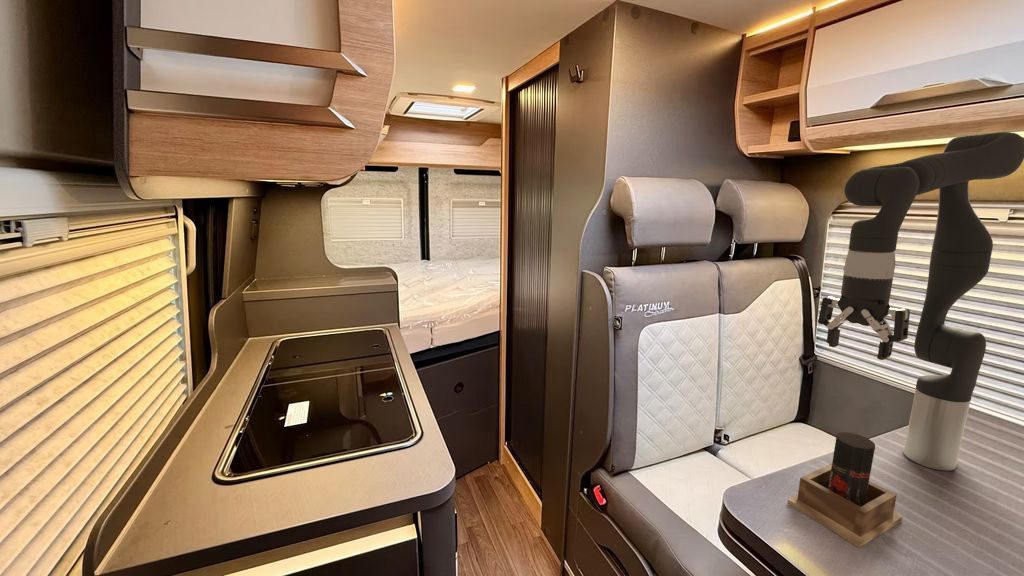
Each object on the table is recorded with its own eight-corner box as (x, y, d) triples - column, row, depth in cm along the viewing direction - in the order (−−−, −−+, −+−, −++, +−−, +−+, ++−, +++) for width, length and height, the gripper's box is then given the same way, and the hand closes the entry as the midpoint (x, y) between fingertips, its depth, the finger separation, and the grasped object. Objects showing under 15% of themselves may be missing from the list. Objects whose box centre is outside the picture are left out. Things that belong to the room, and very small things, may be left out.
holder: (829, 483, 96) (833, 458, 94) (901, 521, 84) (906, 494, 83) (787, 503, 89) (790, 477, 88) (859, 547, 78) (864, 519, 77)
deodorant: (869, 520, 83) (882, 450, 80) (835, 516, 84) (846, 447, 81) (852, 499, 89) (863, 433, 86) (820, 496, 90) (830, 430, 87)
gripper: (924, 277, 79) (909, 360, 82) (837, 267, 91) (828, 339, 95) (904, 281, 76) (890, 367, 79) (817, 270, 88) (808, 345, 91)
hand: (856, 352), depth 87 cm, fingers open, 8 cm apart
